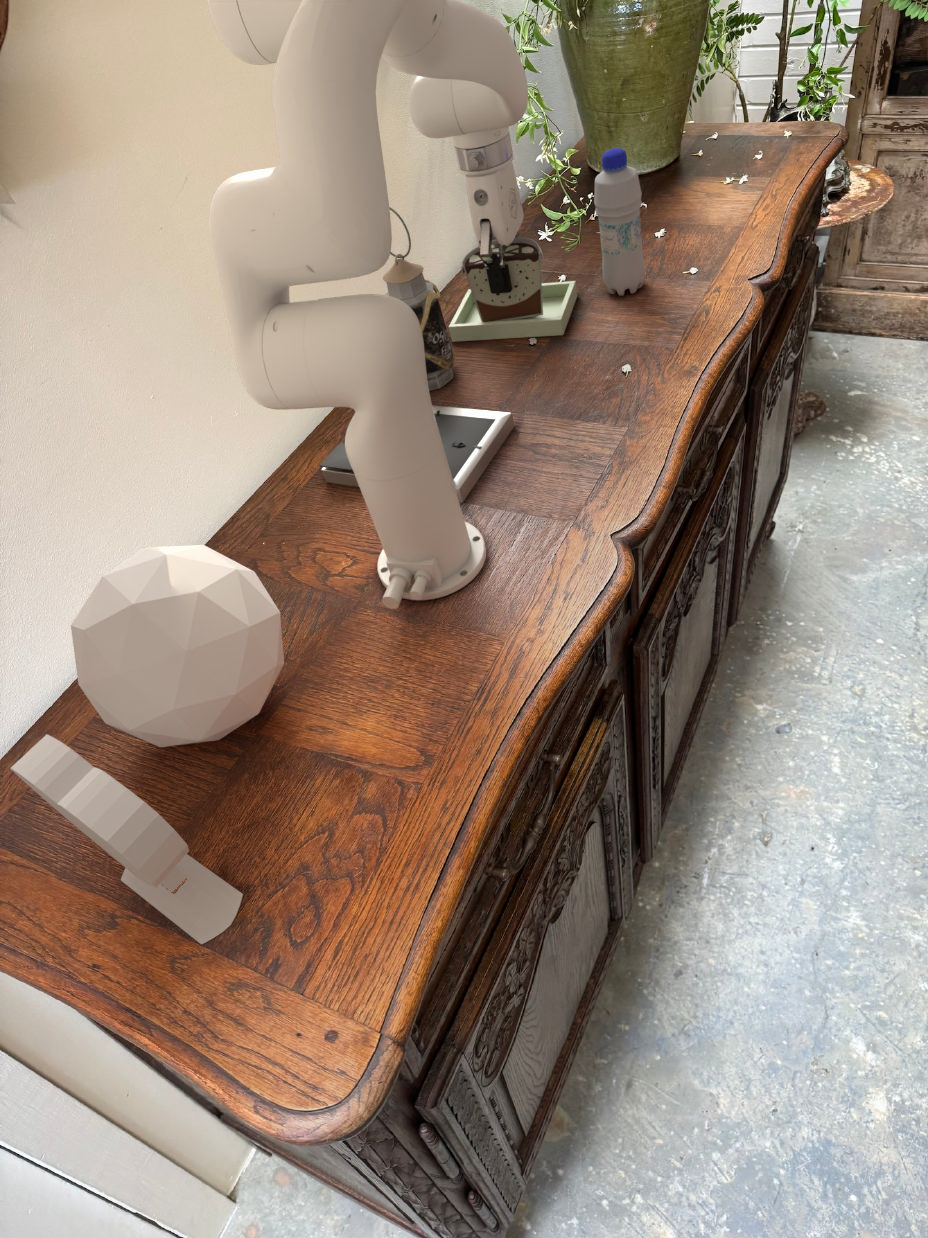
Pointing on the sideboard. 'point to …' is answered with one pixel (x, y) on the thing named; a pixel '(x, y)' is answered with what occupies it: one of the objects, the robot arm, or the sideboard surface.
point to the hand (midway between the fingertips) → (507, 278)
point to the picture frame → (446, 446)
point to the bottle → (619, 223)
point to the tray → (551, 323)
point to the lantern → (423, 315)
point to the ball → (178, 645)
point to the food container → (523, 279)
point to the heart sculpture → (131, 839)
